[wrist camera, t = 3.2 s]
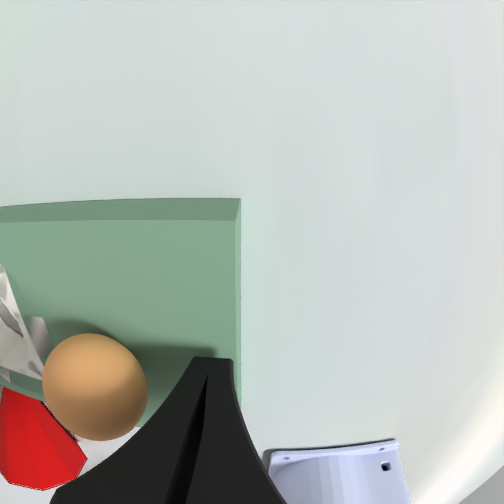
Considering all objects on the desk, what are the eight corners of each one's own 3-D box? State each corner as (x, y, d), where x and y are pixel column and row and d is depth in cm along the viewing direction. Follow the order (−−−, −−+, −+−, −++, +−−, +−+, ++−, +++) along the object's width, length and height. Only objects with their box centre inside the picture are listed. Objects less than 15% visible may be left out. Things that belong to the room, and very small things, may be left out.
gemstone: (-43, 348, 14) (-12, 451, 14) (-36, 385, 10) (16, 508, 10) (41, 339, 22) (62, 432, 22) (81, 365, 17) (108, 476, 17)
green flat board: (240, 198, 11) (235, 220, 9) (241, 401, 15) (238, 438, 13) (-52, 212, 11) (-79, 227, 9) (-1, 355, 16) (-17, 377, 13)
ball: (149, 316, 10) (108, 405, 6) (167, 391, 12) (144, 470, 8) (59, 306, 10) (4, 374, 7) (86, 377, 12) (53, 443, 8)
